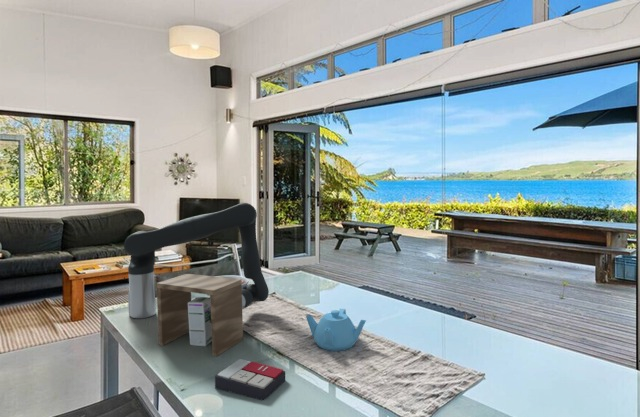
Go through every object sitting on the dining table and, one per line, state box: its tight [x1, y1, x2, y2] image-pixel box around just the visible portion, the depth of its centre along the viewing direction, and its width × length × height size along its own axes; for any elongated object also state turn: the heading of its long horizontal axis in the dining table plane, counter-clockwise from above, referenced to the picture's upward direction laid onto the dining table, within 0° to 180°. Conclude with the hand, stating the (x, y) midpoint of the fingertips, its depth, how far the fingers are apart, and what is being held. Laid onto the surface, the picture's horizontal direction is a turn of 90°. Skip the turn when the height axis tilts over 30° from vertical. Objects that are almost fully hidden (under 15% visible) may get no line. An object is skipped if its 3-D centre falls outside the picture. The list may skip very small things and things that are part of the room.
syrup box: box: [188, 296, 212, 347], centre depth 137 cm, size 6×6×14 cm
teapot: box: [305, 308, 367, 352], centre depth 135 cm, size 15×15×11 cm
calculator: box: [214, 358, 286, 401], centre depth 110 cm, size 11×4×15 cm
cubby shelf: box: [155, 273, 244, 358], centre depth 137 cm, size 23×14×20 cm, turn 66°
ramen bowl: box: [205, 274, 250, 297], centre depth 189 cm, size 25×23×8 cm
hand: (200, 318), depth 137 cm, fingers open, 8 cm apart
